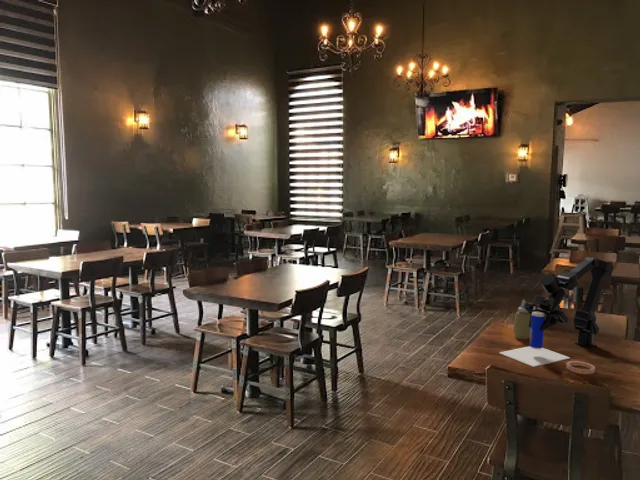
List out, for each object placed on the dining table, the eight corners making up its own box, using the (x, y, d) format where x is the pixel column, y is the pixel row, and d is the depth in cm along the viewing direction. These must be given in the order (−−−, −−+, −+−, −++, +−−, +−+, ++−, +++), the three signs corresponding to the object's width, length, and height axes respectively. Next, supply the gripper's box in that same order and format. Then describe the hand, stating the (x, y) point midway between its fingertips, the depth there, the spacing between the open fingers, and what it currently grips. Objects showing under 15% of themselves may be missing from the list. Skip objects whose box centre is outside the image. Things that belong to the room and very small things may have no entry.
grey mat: (535, 345, 238) (535, 345, 238) (570, 358, 222) (570, 357, 222) (499, 353, 228) (499, 352, 227) (533, 367, 212) (533, 366, 212)
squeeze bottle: (530, 336, 252) (532, 299, 249) (531, 341, 244) (533, 303, 242) (512, 334, 254) (514, 297, 252) (512, 339, 247) (514, 301, 244)
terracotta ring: (577, 363, 216) (577, 359, 216) (600, 371, 208) (600, 367, 207) (560, 367, 212) (561, 363, 212) (583, 375, 203) (583, 371, 203)
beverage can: (530, 344, 227) (532, 310, 225) (542, 346, 225) (545, 312, 223) (528, 348, 222) (531, 313, 221) (541, 350, 220) (544, 315, 218)
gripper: (527, 284, 230) (508, 312, 227) (565, 292, 214) (545, 323, 210) (538, 299, 235) (520, 327, 231) (576, 309, 219) (557, 339, 215)
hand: (534, 328), depth 222 cm, fingers closed on beverage can, 5 cm apart
